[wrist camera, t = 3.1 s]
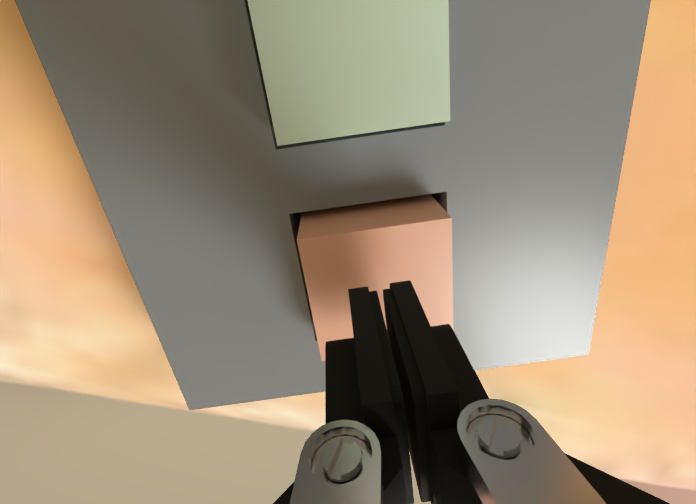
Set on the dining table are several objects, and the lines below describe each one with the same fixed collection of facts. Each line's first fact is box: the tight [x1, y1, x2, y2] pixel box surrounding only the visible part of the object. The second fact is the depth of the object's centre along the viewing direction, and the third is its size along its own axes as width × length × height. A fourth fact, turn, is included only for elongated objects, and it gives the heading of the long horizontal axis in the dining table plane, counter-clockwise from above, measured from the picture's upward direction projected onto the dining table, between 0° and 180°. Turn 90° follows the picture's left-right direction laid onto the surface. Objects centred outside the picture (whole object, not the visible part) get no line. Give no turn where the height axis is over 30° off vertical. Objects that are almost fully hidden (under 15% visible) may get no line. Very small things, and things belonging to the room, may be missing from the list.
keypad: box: [15, 0, 651, 410], centre depth 12 cm, size 24×16×4 cm, turn 8°
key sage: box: [247, 0, 450, 146], centre depth 10 cm, size 4×4×2 cm
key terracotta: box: [297, 194, 454, 361], centre depth 13 cm, size 4×4×2 cm
